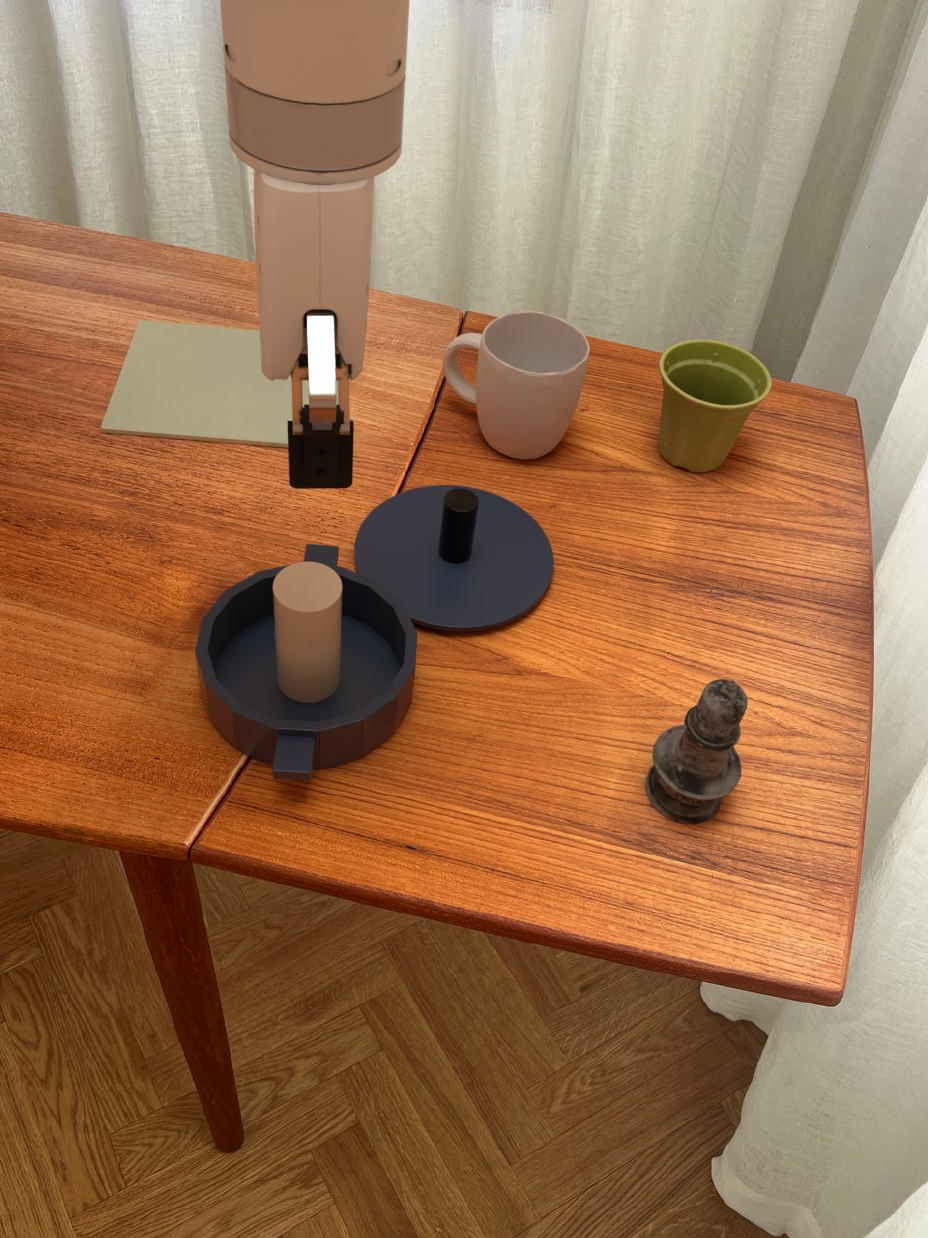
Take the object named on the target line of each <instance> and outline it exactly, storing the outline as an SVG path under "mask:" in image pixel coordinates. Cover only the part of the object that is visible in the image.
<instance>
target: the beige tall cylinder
mask: <svg viewBox="0 0 928 1238" xmlns="http://www.w3.org/2000/svg"><path fill="white" fill-rule="evenodd" d="M291 564H292V565H291ZM291 564H288V565H289V566H287V567H285V568H284V569H283V570H281V571H280V572H279V573H278V574H277V576H276V577H275V579H274V582H273V605H274V627H275V649H276V670H277V683H278V686H279V688H280V690H281V691H282V692H283V693H284V694H285V695H286V696H287V697H288V698H290V699H292V700H294V701H297V702H302V703H315V702H319V701H322V700H324V699H326V698H328V697H330V696H331V695H332V694H333V693H334V692H335V691H336V690H337V688H338V686H339V683H340V671H341V626H342V582H341V579H340V577H339V576H338V574H337V573H336V572H335V571H334V570H333V569H331V568H330V567H328V566H326V565H324V564H321V563H316V562H304V561H299V562H295V563H291Z"/></svg>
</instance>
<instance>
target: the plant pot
mask: <svg viewBox="0 0 928 1238" xmlns="http://www.w3.org/2000/svg"><path fill="white" fill-rule="evenodd" d="M658 367H659V374H660V376H661V378H662V379H661V381H662V382H661V383H662V388H663V391H662V392H663V394H662V401H661V411H660V421H659V429H658V437H657V438H658V439H657V448H658V452H659V453H660V455H661V456H662V458H663V459H664V460H665V461H666V462H667V463H669V464H670V465H672V466H673V467H680V468H684V469H686V470H688V471H689V472H691V473H708V472H712V471H714V470H717V469H718V468H720V467H722V466H723V463H724V462H725V461H726V459H727V457H728V455H729V453H730V451H731V450H732V447H733V446H734V444H735V442H736V440H737V438H738V436H739V435H740V433H741V431H742V430H743V428H744V425H745V423H746V422H747V420H748V418H749V416H750V415H751V413H752V412H753V411H754V410H755V409H756V407H757V406H758V404H759V405H760V404H761V403H762V402H763V401H764V400H765V399H766V398H767V397H768V395H769V394H770V391H771V388H772V377H771V374H770V372H769V370H768V369H767V367H766V365H764V363H762V361H760V360H759V358H758V357H756V356H755V355H753V354H751V353H750V352H748V351H747V350H745V349H743V348H741V347H738V346H736V345H733V344H731V343H727V342H724V341H719V340H711V339H689V340H684V341H680V342H678V343H675V344H673V345H671V346H670V347H668V348H667V349H665V351H664V352H663V353H662V354H661V357H660V359H659V366H658Z"/></svg>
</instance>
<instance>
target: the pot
mask: <svg viewBox="0 0 928 1238" xmlns="http://www.w3.org/2000/svg"><path fill="white" fill-rule="evenodd" d="M339 550H340V549H339V546H338V545H330V544H329V545H328V544H314V543H306V544H305V549H304V556H303V562H316V563H321V564H324V565H326V566H328V567H330V568H331V569H333V570H334V571H335V572H336V573H337V574H338V576H339V577H340V579H341V582H342V626H341V671H340V683H339V686H338V688H337V690H336V691H335V692H334V693H333V694H332V695H331V696H330V697H328V698H326V699H324V700H322V701H319V702H315V703H302V702H297V701H294V700H292V699H290V698H288V697H287V696H286V695H285V694H284V693H283V692H282V691H281V690H280V688H279V686H278V683H277V670H276V649H275V627H274V605H273V582H274V579H275V577H276V576H277V574H278V573H279V572H280V571H281V570H283V569H284V568H285V567H287V566H289V565H292V564H293V563H291V564H286V565H282V566H277V567H272V568H267V569H263V570H259V571H256V572H255V573H253V574H251V575H249V576H248V577H245V578H244V579H242V580H240V581H239V582H236V583H235V584H234V585H232V586H230V587H228V588H226V589H225V590H224V591H223V592H222V593H221V594H220V596H219V597H218V598H217V600H216V601H215V602H214V603H213V605H212V606H211V607H210V608H209V610H207V612H206V614H205V615H203V617H202V619H201V623H200V627H199V632H198V635H197V640H196V645H195V649H194V651H195V660H196V668H197V674H198V675H197V676H198V682H199V690H200V692H201V695H202V700H203V704H204V709H205V710H206V713H207V715H208V716H207V717H208V718H209V720H210V722H211V723H212V725H213V726H214V728H215V729H216V731H217V732H218V733H219V734H220V736H222V738H223V739H224V740H225V741H226V742H228V743H229V744H230V745H231V746H232V747H234V749H236V750H238V751H239V752H241V753H242V754H244V755H246V756H248V757H249V758H252V759H254V760H256V761H258V762H262V763H264V764H267V765H270V766H272V770H271V771H272V773H271V774H272V779H273V780H279V781H295V782H296V781H297V782H312V778H313V770H321V769H329V768H333V767H338V766H342V765H345V764H348V763H351V762H354V761H356V760H358V759H361V758H362V757H365V756H367V755H368V754H370V753H371V752H373V751H375V750H376V749H378V748H379V747H380V746H382V745H383V744H384V743H385V742H387V741H388V740H389V739H390V738H391V737H392V735H393V734H394V733H395V732H396V731H397V730H398V728H399V727H400V725H401V724H402V723H403V721H404V719H405V717H406V714H407V713H408V711H409V708H410V706H411V704H412V702H413V696H414V685H415V675H416V666H417V650H418V649H417V648H418V647H417V646H418V632H417V630H416V628H415V625H414V623H413V622H412V621H411V619H410V617H409V615H408V613H407V611H406V609H405V607H404V605H403V603H402V602H401V601H399V600H398V599H397V598H396V597H395V596H394V595H392V594H391V593H390V592H389V591H388V590H386V589H385V588H384V587H383V586H382V585H381V584H379V583H378V582H377V581H376V580H374V579H372V578H369V577H366V576H364V575H361V574H359V573H358V572H356V571H353V570H350V569H348V568H345V567H343V566H339V565H338V562H339V552H340V551H339Z"/></svg>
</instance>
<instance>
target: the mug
mask: <svg viewBox="0 0 928 1238" xmlns="http://www.w3.org/2000/svg"><path fill="white" fill-rule="evenodd" d="M462 349H472V350H476V351H478V355H477V365H476V374H475V386H474V385H473V384H472V383H471V382H470V381H468V380H467V379H466V378H465V377H464V375H463V374H462V371H461V370H460V367H459V363H458V354H459V352H460V351H462ZM590 351H591V348H590V343H589V341H588V339H587V336H585V334H584V333H583V332H582V331H581V330H580V329H579V328H578V327H577V326H575V325H574V324H572V322H571V323H570V322H569V321H568V320H566V319H565V318H562V317H559V316H557V315H553V314H550V313H546V312H543V311H534V310H517V311H514V312H509V313H506V314H502V315H499V316H498V317H497V318H495V319H494V320H491V321H490V322H489V323H488V324H487V325H486V326H485V328H484V330H483V332H482V333H478V332H467V333H463V334H459V335H458V336H456V337H454V338H453V339H452V341H451V342H450V343H449V344H448V345H446V348H445V351H444V353H443V356H442V370H443V374H444V378H445V379H446V382H447V383H448V385H449V386H450V388H451V389H452V391H453V392H454V393H455V394H456V395H458V397H460V398H461V399H462V400H464V401H466V402H468V403H471V404H473V405H475V406H476V415H477V421H478V424H479V430H480V432H481V433H482V437H483V438H484V439H485V442H487V444H488V445H489V446H490V447H491V448H492V449H494V450H495V451H496V452H498V453H499V454H502V455H504V456H507V457H510V458H512V459H518V460H531V459H532V460H535V459H538V458H540V457H543V456H545V455H547V454H548V453H551V451H553V450H554V449H555V447H556V446H557V445H558V444H559V443H560V442H561V440H562V439H563V438H564V436H565V433H566V432H567V430H568V428H569V426H570V425H571V422H572V420H573V418H574V415H575V413H576V410H577V408H578V405H579V402H580V398H581V395H582V392H583V387H584V383H585V380H586V376H587V373H588V372H587V371H588V364H589V359H590V354H591V352H590Z"/></svg>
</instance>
